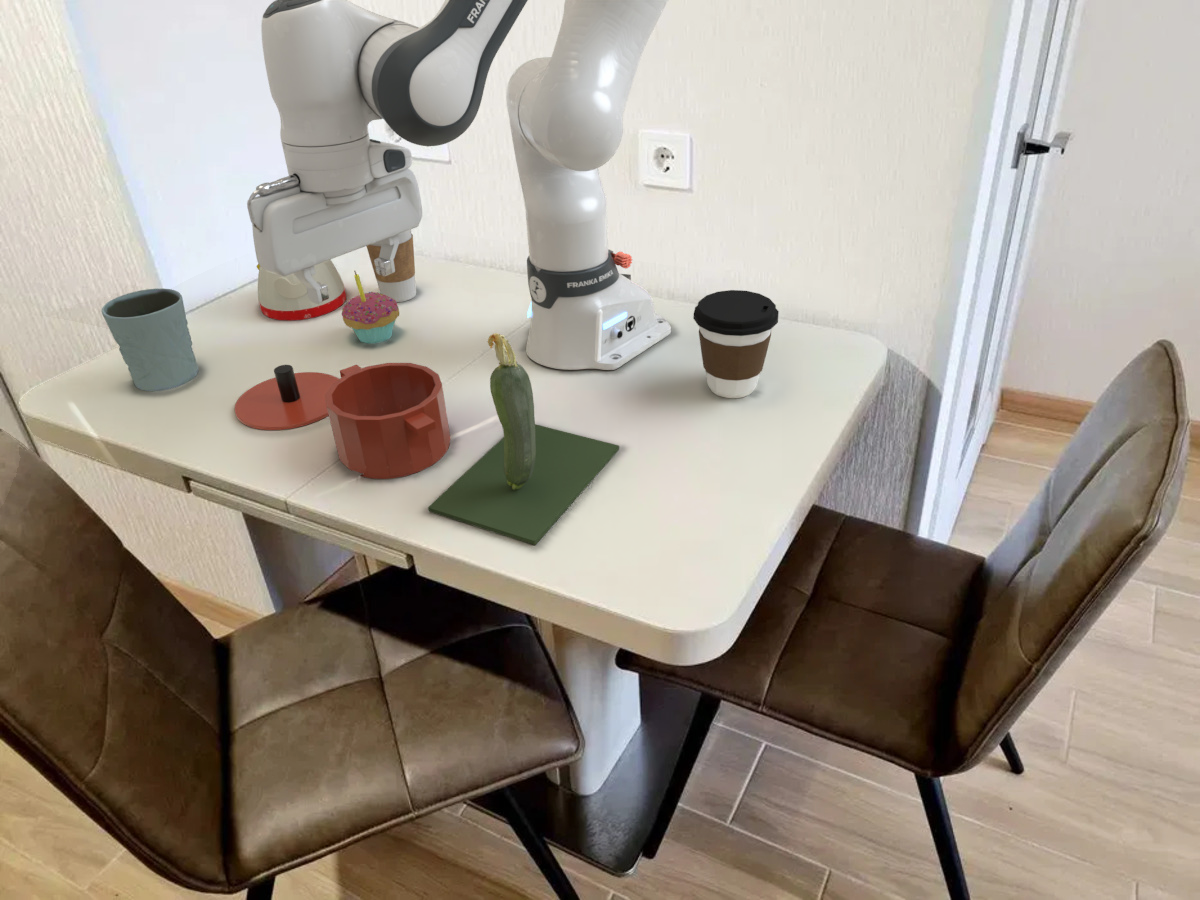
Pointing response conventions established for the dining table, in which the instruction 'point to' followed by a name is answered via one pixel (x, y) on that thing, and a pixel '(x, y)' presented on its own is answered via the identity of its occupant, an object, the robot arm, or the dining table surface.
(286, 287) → the kitchen timer
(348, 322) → the cupcake
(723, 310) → the coffee cup
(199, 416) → the dining table surface
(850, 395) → the dining table surface
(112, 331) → the blue-grey cup
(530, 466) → the vegetable
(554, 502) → the mat
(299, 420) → the pot lid
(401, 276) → the coffee cup
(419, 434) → the pot
